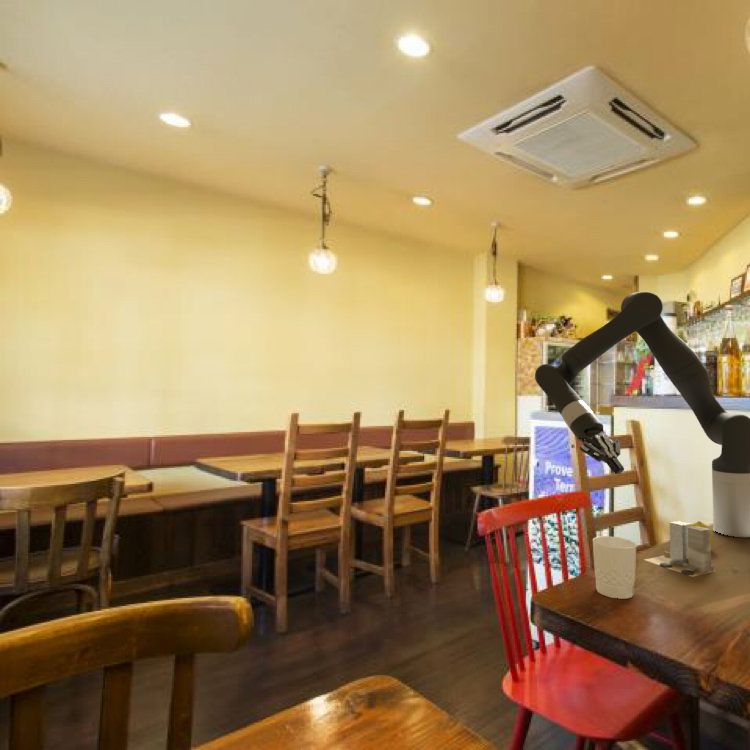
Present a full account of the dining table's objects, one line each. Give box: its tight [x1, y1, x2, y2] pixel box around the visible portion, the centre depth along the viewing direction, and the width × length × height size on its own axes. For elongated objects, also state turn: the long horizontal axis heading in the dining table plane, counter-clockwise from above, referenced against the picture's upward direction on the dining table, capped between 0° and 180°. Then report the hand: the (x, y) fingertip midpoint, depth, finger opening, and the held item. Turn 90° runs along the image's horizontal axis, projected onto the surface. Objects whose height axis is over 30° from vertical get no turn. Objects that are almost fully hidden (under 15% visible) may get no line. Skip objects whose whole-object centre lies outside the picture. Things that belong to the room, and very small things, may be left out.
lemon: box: [691, 521, 714, 549], centre depth 125 cm, size 6×6×8 cm
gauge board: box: [643, 526, 716, 578], centre depth 114 cm, size 8×12×10 cm, turn 24°
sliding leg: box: [669, 520, 692, 567], centre depth 115 cm, size 5×3×9 cm, turn 114°
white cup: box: [592, 535, 637, 600], centre depth 103 cm, size 8×8×10 cm
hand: (620, 471), depth 130 cm, fingers closed
